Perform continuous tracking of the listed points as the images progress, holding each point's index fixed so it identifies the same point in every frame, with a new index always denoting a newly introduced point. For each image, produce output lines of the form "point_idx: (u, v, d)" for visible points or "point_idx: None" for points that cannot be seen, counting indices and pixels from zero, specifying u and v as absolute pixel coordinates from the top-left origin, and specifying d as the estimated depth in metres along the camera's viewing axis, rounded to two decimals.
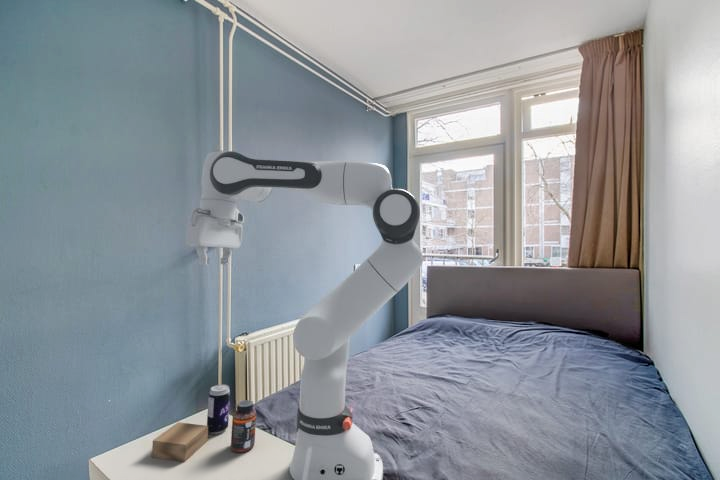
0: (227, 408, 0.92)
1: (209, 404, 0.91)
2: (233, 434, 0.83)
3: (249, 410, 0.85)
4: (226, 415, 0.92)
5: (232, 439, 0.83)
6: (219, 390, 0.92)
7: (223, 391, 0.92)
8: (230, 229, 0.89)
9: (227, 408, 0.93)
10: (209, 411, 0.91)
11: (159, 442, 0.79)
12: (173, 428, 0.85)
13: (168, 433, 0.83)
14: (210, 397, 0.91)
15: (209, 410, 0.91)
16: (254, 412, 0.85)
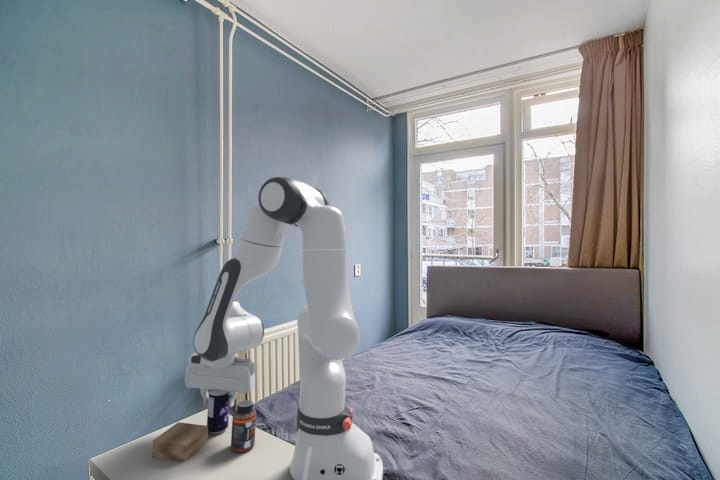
0: (227, 408, 0.92)
1: (209, 404, 0.91)
2: (233, 434, 0.83)
3: (249, 410, 0.85)
4: (226, 415, 0.92)
5: (232, 439, 0.83)
6: None
7: (223, 391, 0.92)
8: None
9: (227, 408, 0.93)
10: (209, 411, 0.91)
11: (159, 442, 0.79)
12: (173, 428, 0.85)
13: (168, 433, 0.83)
14: (210, 397, 0.91)
15: (209, 410, 0.91)
16: (254, 412, 0.85)
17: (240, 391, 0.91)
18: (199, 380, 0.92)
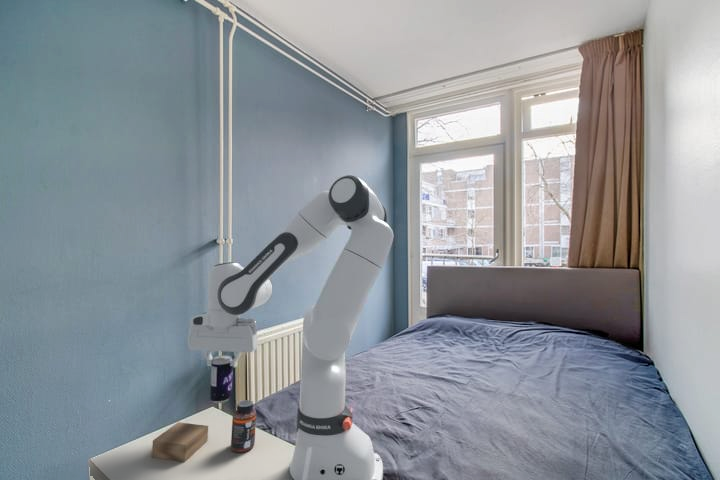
0: (230, 377, 0.93)
1: (212, 373, 0.91)
2: (233, 434, 0.83)
3: (249, 410, 0.85)
4: (229, 384, 0.92)
5: (232, 439, 0.83)
6: (222, 359, 0.92)
7: (226, 360, 0.92)
8: None
9: (230, 377, 0.93)
10: (212, 380, 0.91)
11: (159, 442, 0.79)
12: (173, 428, 0.85)
13: (168, 433, 0.83)
14: (213, 366, 0.91)
15: (212, 379, 0.91)
16: (254, 412, 0.85)
17: (243, 350, 0.91)
18: (202, 342, 0.93)
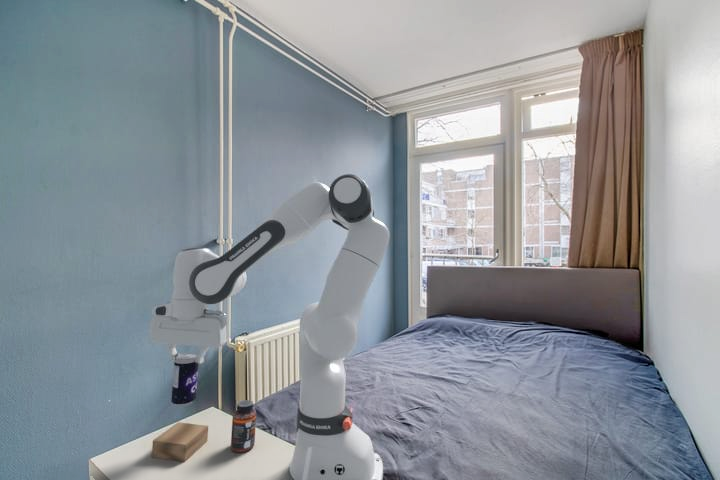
0: (194, 378, 0.84)
1: (174, 373, 0.82)
2: (233, 434, 0.83)
3: (248, 410, 0.85)
4: (193, 386, 0.83)
5: (232, 439, 0.83)
6: (185, 358, 0.83)
7: (190, 359, 0.83)
8: None
9: (195, 378, 0.84)
10: (174, 381, 0.82)
11: (159, 442, 0.79)
12: (173, 428, 0.85)
13: (168, 433, 0.83)
14: (175, 365, 0.82)
15: (174, 380, 0.82)
16: (254, 412, 0.85)
17: (209, 345, 0.82)
18: (165, 334, 0.84)
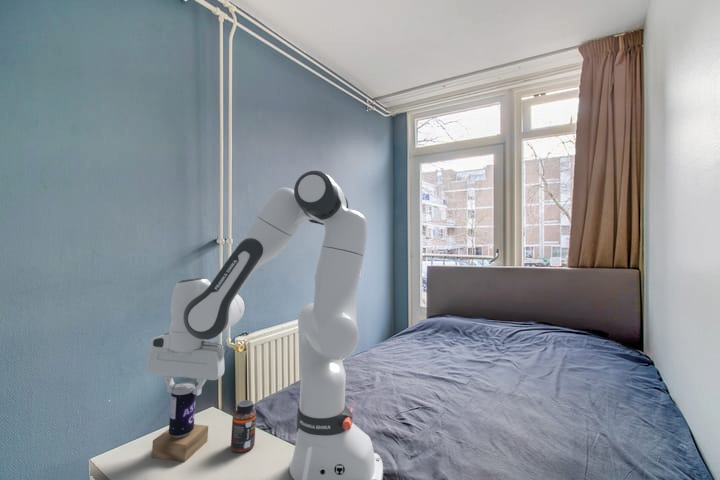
0: (192, 409, 0.83)
1: (171, 404, 0.82)
2: (233, 434, 0.83)
3: (249, 410, 0.85)
4: (191, 416, 0.83)
5: (232, 439, 0.83)
6: (183, 389, 0.82)
7: (187, 390, 0.82)
8: None
9: (192, 408, 0.83)
10: (171, 412, 0.81)
11: (159, 442, 0.79)
12: None
13: (168, 433, 0.83)
14: (172, 396, 0.82)
15: (171, 411, 0.81)
16: (254, 412, 0.85)
17: (207, 378, 0.82)
18: (162, 366, 0.83)
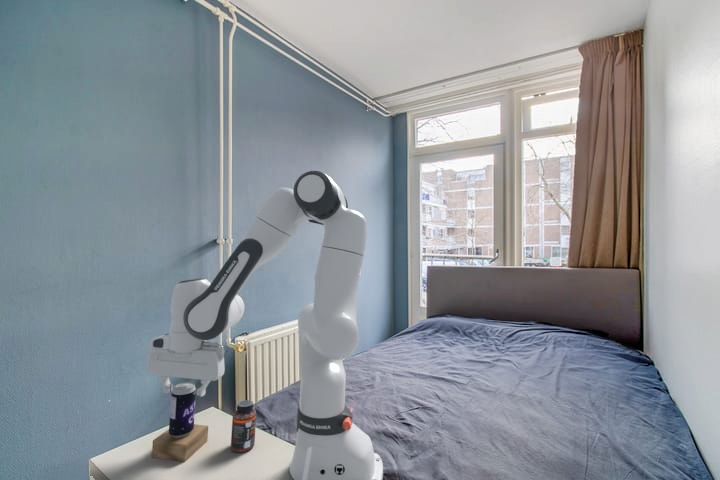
0: (192, 409, 0.83)
1: (171, 404, 0.82)
2: (233, 434, 0.83)
3: (249, 410, 0.85)
4: (191, 416, 0.83)
5: (232, 439, 0.83)
6: (183, 389, 0.82)
7: (187, 390, 0.82)
8: None
9: (192, 408, 0.83)
10: (171, 412, 0.81)
11: (159, 442, 0.79)
12: None
13: (168, 433, 0.83)
14: (172, 396, 0.82)
15: (171, 411, 0.81)
16: (254, 412, 0.85)
17: (207, 378, 0.82)
18: (162, 366, 0.83)
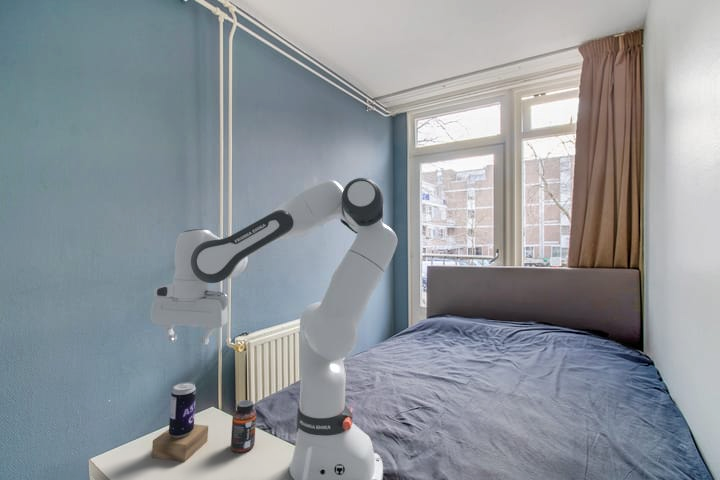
0: (192, 409, 0.83)
1: (171, 404, 0.82)
2: (233, 434, 0.83)
3: (248, 410, 0.85)
4: (191, 416, 0.83)
5: (232, 439, 0.83)
6: (183, 389, 0.82)
7: (187, 390, 0.82)
8: None
9: (192, 408, 0.83)
10: (171, 412, 0.81)
11: (159, 442, 0.79)
12: None
13: (168, 433, 0.83)
14: (172, 396, 0.82)
15: (171, 411, 0.81)
16: (254, 412, 0.85)
17: (210, 326, 0.82)
18: (166, 315, 0.84)
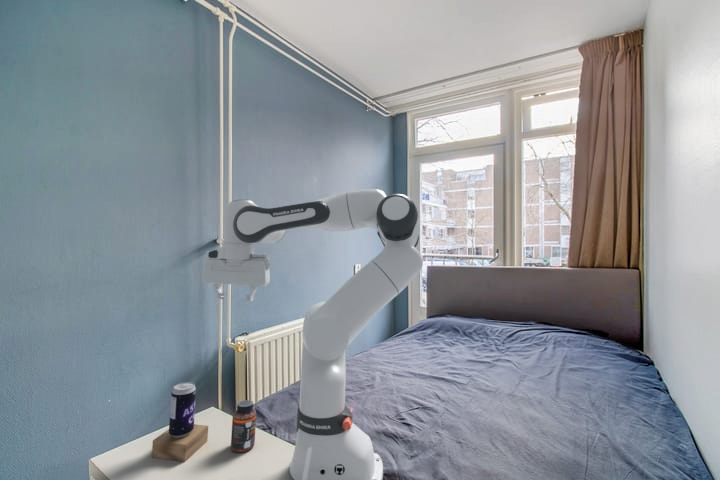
0: (192, 409, 0.83)
1: (171, 404, 0.82)
2: (233, 434, 0.83)
3: (249, 410, 0.85)
4: (191, 416, 0.83)
5: (232, 439, 0.83)
6: (183, 389, 0.82)
7: (187, 390, 0.82)
8: None
9: (192, 408, 0.83)
10: (171, 412, 0.81)
11: (159, 442, 0.79)
12: None
13: (168, 433, 0.83)
14: (172, 396, 0.82)
15: (171, 411, 0.81)
16: (254, 412, 0.85)
17: (256, 284, 0.94)
18: (216, 275, 0.96)
